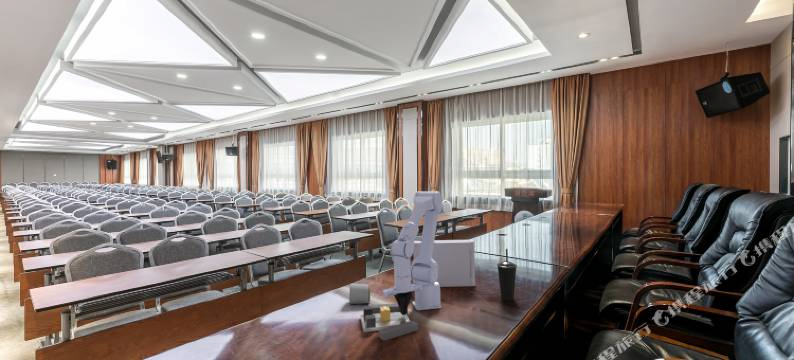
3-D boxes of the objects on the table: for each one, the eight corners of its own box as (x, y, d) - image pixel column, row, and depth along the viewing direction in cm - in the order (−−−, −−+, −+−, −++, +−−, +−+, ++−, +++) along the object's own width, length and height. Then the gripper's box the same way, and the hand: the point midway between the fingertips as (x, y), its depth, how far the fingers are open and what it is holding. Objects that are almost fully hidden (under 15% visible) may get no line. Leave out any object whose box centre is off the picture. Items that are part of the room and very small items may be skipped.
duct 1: (407, 310, 131) (406, 303, 131) (407, 314, 128) (407, 306, 128) (372, 312, 131) (372, 304, 131) (372, 316, 128) (372, 307, 128)
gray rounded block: (370, 305, 136) (370, 286, 136) (349, 306, 136) (348, 287, 136) (370, 296, 147) (370, 278, 147) (351, 297, 146) (350, 279, 146)
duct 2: (413, 327, 117) (413, 320, 117) (418, 331, 115) (418, 323, 115) (378, 338, 111) (378, 330, 111) (383, 341, 108) (383, 333, 108)
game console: (476, 286, 156) (475, 242, 156) (414, 287, 157) (413, 243, 156) (473, 282, 162) (472, 239, 162) (414, 283, 162) (413, 240, 162)
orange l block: (388, 316, 123) (388, 305, 123) (390, 320, 120) (390, 309, 120) (380, 317, 122) (379, 306, 122) (381, 321, 119) (381, 310, 119)
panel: (404, 313, 128) (404, 302, 128) (411, 326, 117) (411, 314, 117) (360, 318, 125) (360, 306, 125) (363, 332, 114) (363, 319, 114)
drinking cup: (496, 301, 139) (495, 250, 138) (498, 294, 146) (497, 246, 145) (516, 303, 136) (516, 251, 135) (518, 296, 143) (517, 247, 142)
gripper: (414, 269, 129) (415, 305, 129) (378, 275, 122) (379, 313, 122) (425, 273, 122) (425, 312, 123) (387, 280, 116) (388, 321, 116)
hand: (403, 313), depth 122 cm, fingers closed
